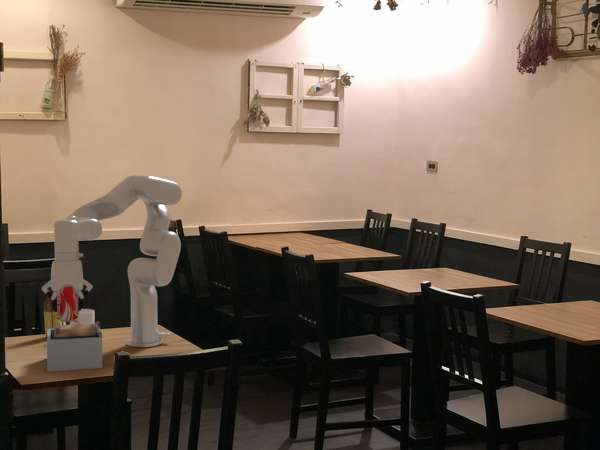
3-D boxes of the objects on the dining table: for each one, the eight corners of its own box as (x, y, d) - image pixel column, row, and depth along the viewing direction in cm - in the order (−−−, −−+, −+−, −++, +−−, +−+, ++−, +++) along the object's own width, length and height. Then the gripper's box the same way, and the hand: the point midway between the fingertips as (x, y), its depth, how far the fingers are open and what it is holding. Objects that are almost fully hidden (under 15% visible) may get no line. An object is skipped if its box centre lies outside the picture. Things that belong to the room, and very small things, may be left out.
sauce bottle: (63, 335, 305) (62, 283, 303) (61, 338, 299) (60, 286, 297) (45, 335, 304) (44, 284, 302) (43, 339, 298) (42, 286, 296)
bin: (99, 354, 275) (99, 321, 274) (102, 367, 257) (102, 332, 257) (48, 358, 270) (47, 324, 269) (47, 371, 253) (46, 335, 252)
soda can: (72, 323, 258) (72, 286, 257) (52, 321, 259) (52, 285, 258) (82, 318, 265) (82, 283, 264) (63, 317, 266) (62, 282, 265)
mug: (98, 338, 299) (98, 309, 299) (88, 344, 291) (88, 314, 290) (69, 337, 302) (68, 308, 301) (57, 342, 293) (57, 312, 292)
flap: (94, 325, 272) (94, 322, 272) (96, 335, 257) (96, 331, 257) (54, 327, 268) (54, 324, 268) (54, 337, 254) (54, 333, 254)
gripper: (93, 255, 266) (94, 307, 268) (39, 256, 261) (40, 310, 263) (94, 257, 259) (95, 311, 261) (38, 259, 254) (39, 314, 256)
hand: (67, 310), depth 262 cm, fingers closed on soda can, 7 cm apart
